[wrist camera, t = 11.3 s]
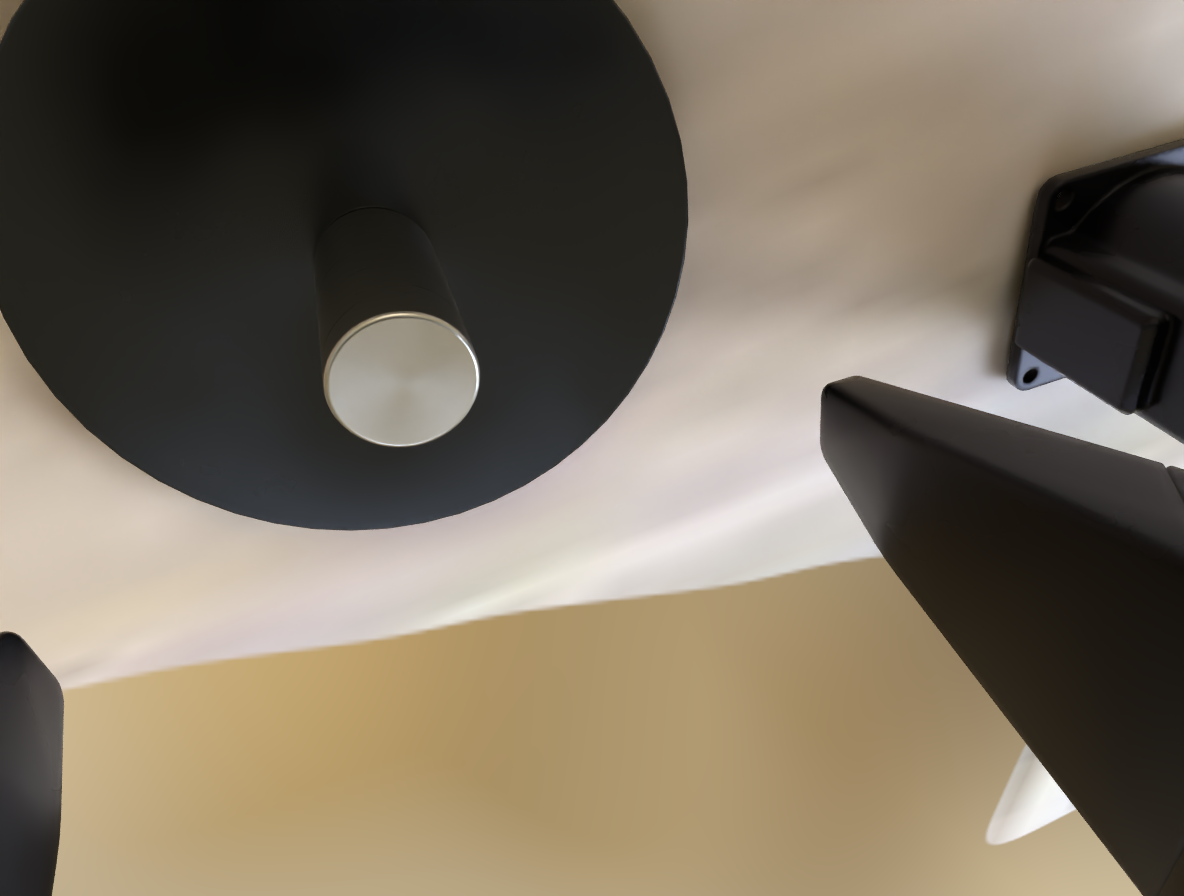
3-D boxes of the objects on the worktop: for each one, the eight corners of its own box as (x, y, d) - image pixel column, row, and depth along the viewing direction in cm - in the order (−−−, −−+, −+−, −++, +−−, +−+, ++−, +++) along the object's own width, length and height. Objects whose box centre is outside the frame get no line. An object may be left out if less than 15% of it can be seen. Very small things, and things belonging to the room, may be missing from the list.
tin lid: (631, -215, 15) (800, -259, 10) (694, 413, 23) (803, 557, 18) (-207, -54, 13) (-506, -12, 8) (188, 571, 21) (160, 780, 16)
